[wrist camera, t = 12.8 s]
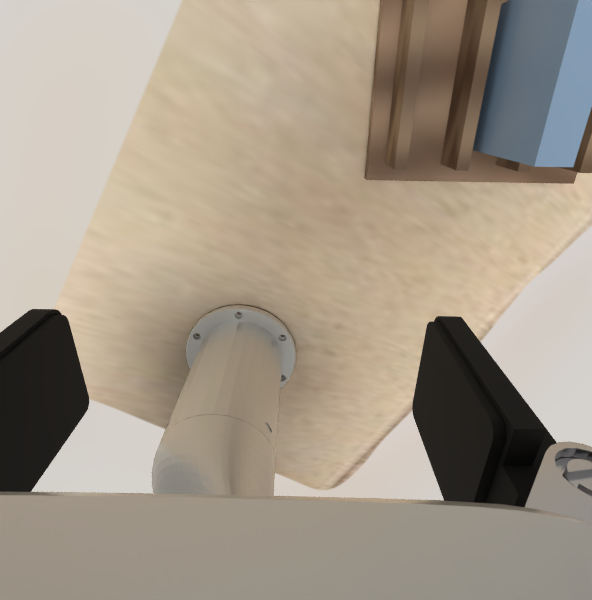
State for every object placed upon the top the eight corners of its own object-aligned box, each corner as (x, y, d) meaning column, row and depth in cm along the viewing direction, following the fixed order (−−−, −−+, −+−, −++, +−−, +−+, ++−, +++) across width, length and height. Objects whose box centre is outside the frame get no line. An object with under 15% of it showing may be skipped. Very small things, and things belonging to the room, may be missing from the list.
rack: (565, 181, 38) (603, 192, 33) (364, 177, 38) (374, 187, 33) (630, -33, 31) (690, -58, 26) (383, -38, 31) (399, -63, 26)
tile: (489, 148, 35) (573, 167, 25) (462, 147, 35) (534, 166, 25) (519, 10, 31) (636, -40, 20) (488, 10, 31) (589, -40, 20)
